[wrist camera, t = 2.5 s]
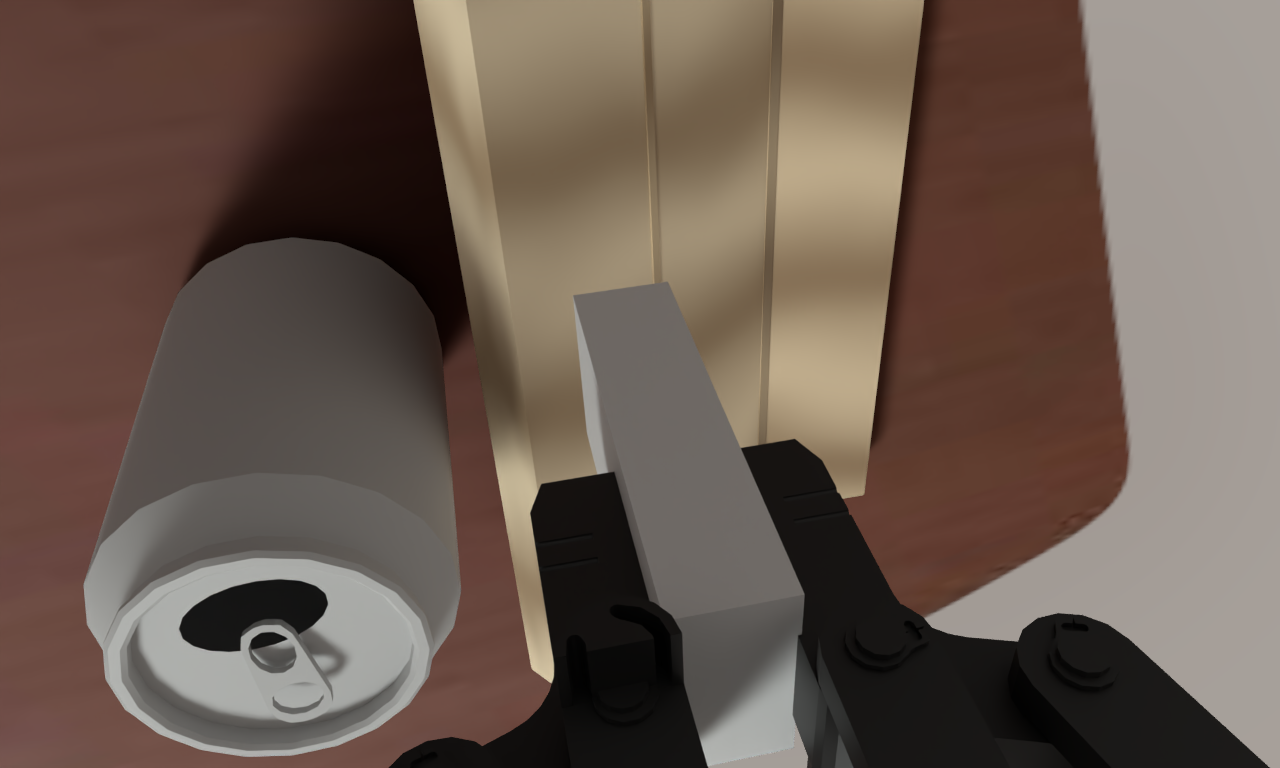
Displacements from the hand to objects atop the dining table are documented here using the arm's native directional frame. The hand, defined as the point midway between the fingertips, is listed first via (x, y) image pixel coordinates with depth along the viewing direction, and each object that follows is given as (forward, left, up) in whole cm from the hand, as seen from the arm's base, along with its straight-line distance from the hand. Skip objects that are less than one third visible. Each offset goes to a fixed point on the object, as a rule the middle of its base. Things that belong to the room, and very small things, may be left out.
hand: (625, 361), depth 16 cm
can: (+7, -7, -13) cm, 16 cm away
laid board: (+6, +8, -13) cm, 16 cm away
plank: (+6, +1, -9) cm, 11 cm away
